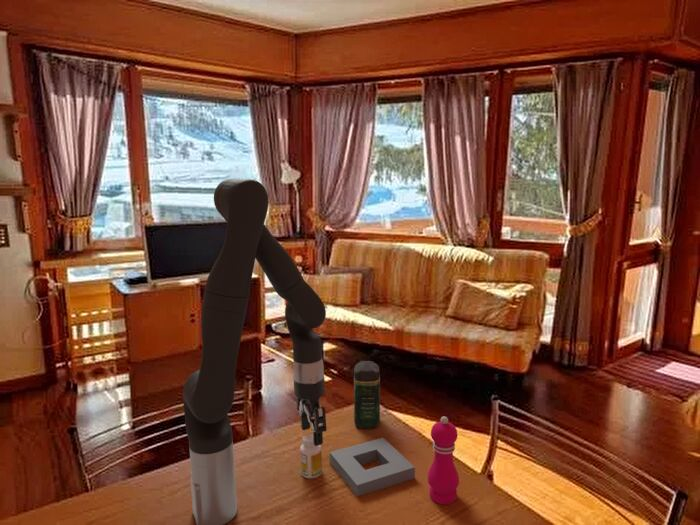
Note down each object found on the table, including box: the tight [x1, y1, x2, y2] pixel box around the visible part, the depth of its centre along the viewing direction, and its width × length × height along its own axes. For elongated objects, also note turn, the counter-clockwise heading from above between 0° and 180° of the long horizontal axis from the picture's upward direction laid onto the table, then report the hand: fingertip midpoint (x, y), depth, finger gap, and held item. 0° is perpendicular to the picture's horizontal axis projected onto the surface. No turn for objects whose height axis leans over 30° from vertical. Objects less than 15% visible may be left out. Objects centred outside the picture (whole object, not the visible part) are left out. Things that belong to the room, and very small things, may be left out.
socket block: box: [329, 437, 416, 498], centre depth 130 cm, size 16×16×3 cm
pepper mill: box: [427, 416, 460, 505], centre depth 117 cm, size 7×7×20 cm
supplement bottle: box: [299, 433, 323, 479], centre depth 128 cm, size 5×5×10 cm
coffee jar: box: [353, 360, 381, 430], centre depth 153 cm, size 10×8×19 cm
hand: (311, 436), depth 128 cm, fingers open, 8 cm apart
